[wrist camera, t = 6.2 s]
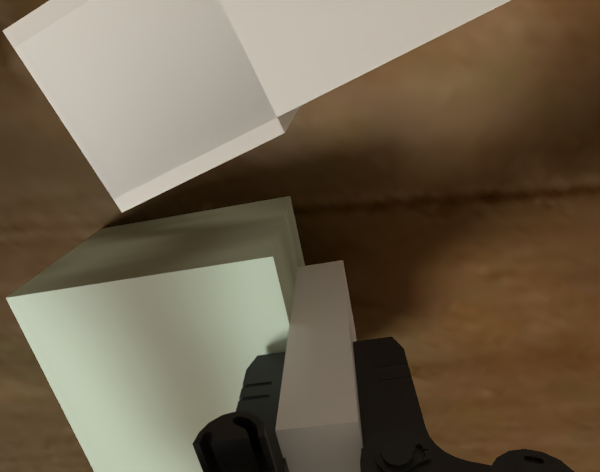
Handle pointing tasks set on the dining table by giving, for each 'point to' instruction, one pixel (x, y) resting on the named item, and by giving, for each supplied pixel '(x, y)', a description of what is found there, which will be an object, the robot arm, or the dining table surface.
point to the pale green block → (161, 327)
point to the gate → (206, 73)
